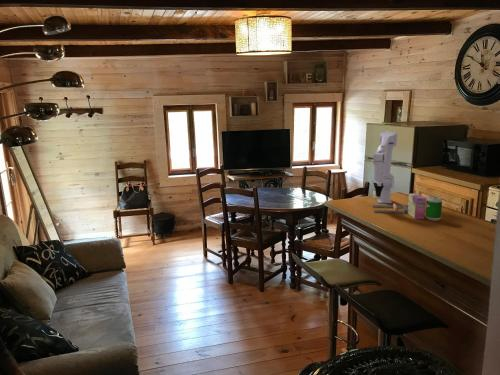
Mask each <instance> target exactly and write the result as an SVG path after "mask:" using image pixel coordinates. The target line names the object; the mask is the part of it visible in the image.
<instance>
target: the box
mask: <svg viewBox="0 0 500 375" xmlns="http://www.w3.org/2000/svg"><path fill="white" fill-rule="evenodd" d="M407 205H408V206H407V209H408V215H409V216H411V217H412V218H413V219H415V220H416V219H417V220H420V219H421V220H423V219H425V218H426V206H427V198H426V197H425V196H423V195H422V194H420V193H409V194H408V204H407Z"/></svg>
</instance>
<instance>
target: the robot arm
mask: <svg viewBox="0 0 500 375" xmlns="http://www.w3.org/2000/svg"><path fill="white" fill-rule="evenodd" d="M379 141H380V145H378V147H377V149H376V151H375V152H374V153H373V156H372V159H373V160H372V161H373V179H371V182H372V183H373V187H374V189H375V190H376V197H380V196H381V199H380V200H377V203H378V204H393V202H392V201H391V198H392V197H391V195H392V189H393V188H394V186H395V176H394V175H393V174H392V173H391V167H392V158H393V151H394V147H396V146H397V144H398V133H397V132H396V131H395V132H393V131H392V132H390V131H388V132H387V131H385V132H384V131H381V132H380V134H379ZM381 192H382V194H381Z"/></svg>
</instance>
